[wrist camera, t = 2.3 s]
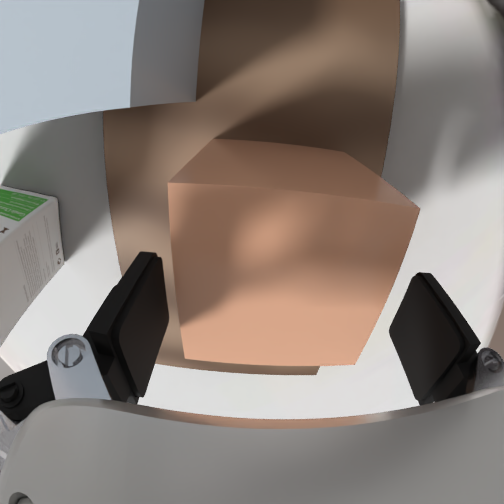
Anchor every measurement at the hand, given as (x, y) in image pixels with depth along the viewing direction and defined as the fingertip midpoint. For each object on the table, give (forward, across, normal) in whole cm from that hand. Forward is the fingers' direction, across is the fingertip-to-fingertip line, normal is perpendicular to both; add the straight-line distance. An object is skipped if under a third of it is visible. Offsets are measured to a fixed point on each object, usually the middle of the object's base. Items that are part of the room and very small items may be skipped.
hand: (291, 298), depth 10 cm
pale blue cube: (+7, +8, -10) cm, 15 cm away
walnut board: (+9, +2, 0) cm, 9 cm away
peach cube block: (+7, 0, -1) cm, 7 cm away
